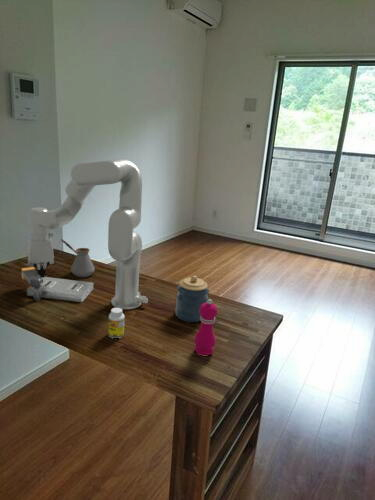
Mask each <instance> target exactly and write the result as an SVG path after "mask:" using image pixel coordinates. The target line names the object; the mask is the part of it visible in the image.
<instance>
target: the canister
mask: <svg viewBox="0 0 375 500" xmlns="http://www.w3.org/2000/svg"><path fill="white" fill-rule="evenodd" d="M208 285H209V284H208V283H207V282H206V281H204V280H203V279H201V278H200V277H197V275H192V276H189V277H185V278H184V279H182V280H180V281H179V285H178V286H177V287H176V290H177V294H176V305H175V311H174V313H175V316H177V317H178V318H179V319H178V318H177V317H176V318H177V319H178V320H180V319H181V320H180V321H182V320H183V321H182V322H185V321H186V322H185V323H190V322H196V323H200V322H199V321H200V316H201V314H200V307H201V305H202V304H203V303H206V302H207V300H208V299H209V296H208V294H209V293H210V289H209V288H208V287H209V286H208Z"/></svg>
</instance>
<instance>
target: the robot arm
mask: <svg viewBox="0 0 375 500" xmlns="http://www.w3.org/2000/svg"><path fill="white" fill-rule="evenodd" d="M70 177H71V180H70V181H69V183H68V184H67V185H66V187H65V188H64V191H65V193H66V195H67V197H66V198H65V200H64V202H63V203H62V204H61V206H59V207H58V208H55V209H51V210H48V209H47V208H46V207H32V208H30V209H29V212H28V213H29V231H30V235H29V236H30V239H28V243H27V259H28V261H27V265H28V266H29V267H34V268H35V269H37V273H38V274H39V275H40V277H41V278H44V277H45V276H46V269H47V268H48V267H49V266H50V265H54V264H55V260H54V258H55V257H54V256H55V255H54V254H55V253H54V246H53V242H52V241H53V240H52V237H54V233H50V230H57V229H59V228H61V227H64V226H65V225H68V224H70V223H71V222H72V221H73V220H74V219H75V217H76V216H77V215H78V213H80V210H81V209H82V207H83V204H84V201H85V200H86V198H87V197H88V196H89V195H90V193H91V192H92V191H93V189H94V188H95V187H96V186H102V185H103V186H104V185H113V184H117V183H120V190H119V204H118V208H117V209H116V210H114V211H113V212H112V213H111V214H110V217H109V220H108V227H107V228H108V231H107V232H108V234H107V235H108V236H107V249H108V253H109V255H110V257H111V258H112V259H113V260H115V262H116V264H115V292H114V293H115V294H114V297H112V298H111V305H112V306H113V308H121V309H122V310H134V309H136V308H139V307H140V306H141V304H142V303H144V304H148V303H149V298H147V296H146V295H145V296H144V295H141V292H140V291H139V285H140V284H139V281H140V279H139V278H140V265H141V263H140V262H141V255H142V248H143V241H142V237H141V235H140V234H139V233H138V232H137V231H134V230H135V228H137V227H138V226H139V225H140V223H141V220H142V199H143V198H142V195H143V179H142V178H143V177H142V173H141V171H140V169H139V168H138V167H137V165H135V164H134V163H133V162H132V161H130V160H128V159H125V158H116V159H110V160H108V159H107V160H99V161H90V160H89V161H83V162H82V161H81V162H77V163H76V164H75V165H73V167H72V169H71V172H70ZM40 264H42V266H41V265H40Z"/></svg>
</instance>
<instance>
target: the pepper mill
mask: <svg viewBox="0 0 375 500" xmlns="http://www.w3.org/2000/svg"><path fill="white" fill-rule="evenodd" d="M200 314H201V316H200V321H201V322H200V328H199V329H198V331H197V332H196V334H195V336H194V343H195V347H194V351H196V352H197V353H198V354H201V355H210V354H212V353H213V354H214V347H215V346H216V340H217V339H216V336H215V333H214V329H213V327H214V326H213V325H214V323H215V321H216V316H217V315H218V307H217V305H216V304H215V303H213V300H212V299H211V298H208V300H207V302H206V303H203V304H202V305H201V307H200ZM196 352H195V353H196ZM198 354H197V355H198ZM213 354H212V355H213Z"/></svg>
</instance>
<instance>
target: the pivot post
mask: <svg viewBox="0 0 375 500" xmlns="http://www.w3.org/2000/svg"><path fill="white" fill-rule="evenodd" d="M33 299H34V300H33V301H35V302H40V301H41V297H40V287H38V288H34V296H33Z"/></svg>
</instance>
